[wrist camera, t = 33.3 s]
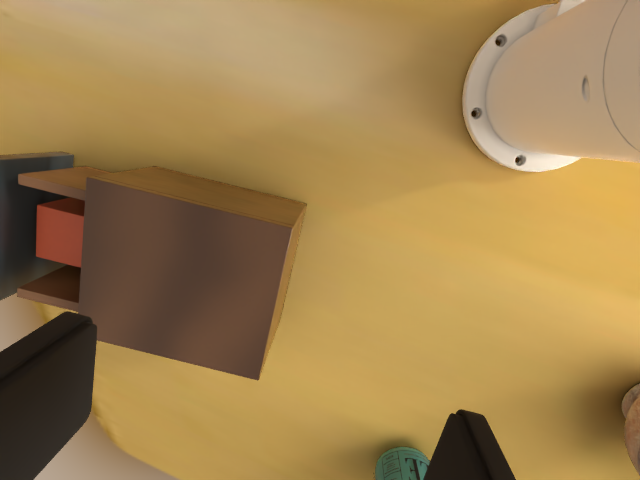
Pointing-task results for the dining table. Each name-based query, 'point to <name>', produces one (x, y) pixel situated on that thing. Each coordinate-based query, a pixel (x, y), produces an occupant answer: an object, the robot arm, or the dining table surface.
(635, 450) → the pottery
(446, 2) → the dining table surface
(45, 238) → the block
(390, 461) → the beverage bottle
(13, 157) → the drawer
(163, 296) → the cabinet
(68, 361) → the robot arm
